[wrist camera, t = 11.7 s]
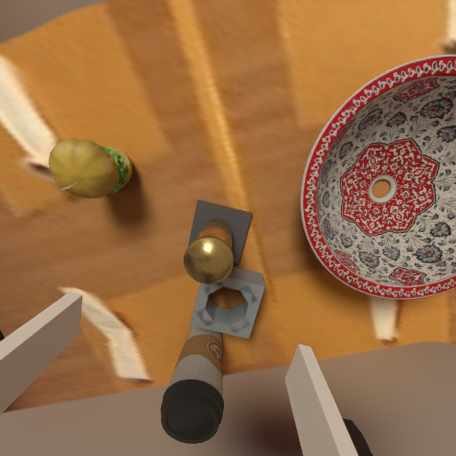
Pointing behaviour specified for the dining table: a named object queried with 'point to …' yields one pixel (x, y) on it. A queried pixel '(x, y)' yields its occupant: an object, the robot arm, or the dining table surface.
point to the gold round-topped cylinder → (210, 253)
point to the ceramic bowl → (399, 184)
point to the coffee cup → (195, 389)
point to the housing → (236, 317)
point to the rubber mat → (233, 216)
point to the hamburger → (89, 168)
